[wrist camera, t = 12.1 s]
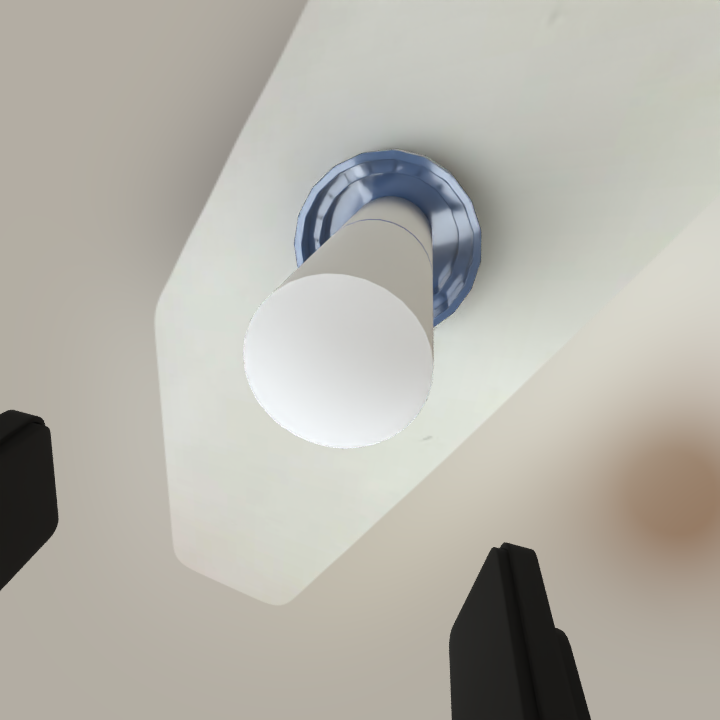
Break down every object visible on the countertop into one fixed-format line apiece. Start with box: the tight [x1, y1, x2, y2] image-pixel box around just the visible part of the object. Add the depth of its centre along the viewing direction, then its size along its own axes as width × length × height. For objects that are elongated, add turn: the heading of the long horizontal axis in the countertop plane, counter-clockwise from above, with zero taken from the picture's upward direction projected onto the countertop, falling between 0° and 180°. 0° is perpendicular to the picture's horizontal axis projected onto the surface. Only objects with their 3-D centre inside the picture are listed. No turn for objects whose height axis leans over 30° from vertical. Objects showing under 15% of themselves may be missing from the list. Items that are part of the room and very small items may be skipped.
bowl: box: [294, 149, 481, 327], centre depth 38 cm, size 14×14×5 cm
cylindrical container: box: [243, 196, 434, 448], centre depth 29 cm, size 7×7×25 cm
